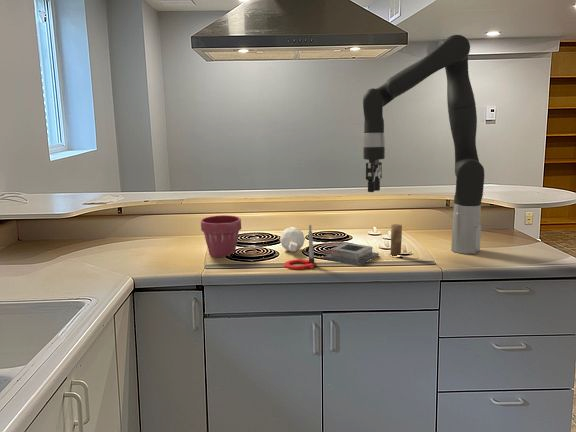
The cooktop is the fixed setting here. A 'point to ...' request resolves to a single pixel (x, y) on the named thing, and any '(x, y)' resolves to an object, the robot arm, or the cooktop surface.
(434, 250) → the cooktop surface
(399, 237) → the dowel pin
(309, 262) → the tow hook
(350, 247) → the plate
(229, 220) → the plant pot
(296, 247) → the perfume bottle
